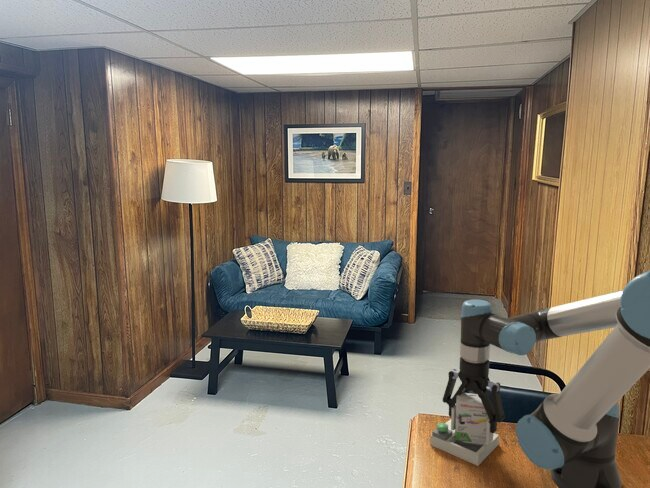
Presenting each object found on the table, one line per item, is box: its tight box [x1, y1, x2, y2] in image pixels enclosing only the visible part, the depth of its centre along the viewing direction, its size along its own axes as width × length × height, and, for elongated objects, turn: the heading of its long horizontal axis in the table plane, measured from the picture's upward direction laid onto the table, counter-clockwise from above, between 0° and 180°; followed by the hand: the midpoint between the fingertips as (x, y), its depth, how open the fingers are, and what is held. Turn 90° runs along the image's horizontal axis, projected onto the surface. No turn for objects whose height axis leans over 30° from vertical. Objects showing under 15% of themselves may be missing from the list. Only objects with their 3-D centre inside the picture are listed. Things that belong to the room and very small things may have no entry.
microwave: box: [429, 418, 500, 467], centre depth 132 cm, size 14×12×4 cm
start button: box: [436, 422, 448, 433], centre depth 132 cm, size 3×3×2 cm
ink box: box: [455, 392, 489, 444], centre depth 130 cm, size 8×5×12 cm, turn 77°
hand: (471, 434), depth 131 cm, fingers closed on ink box, 9 cm apart
